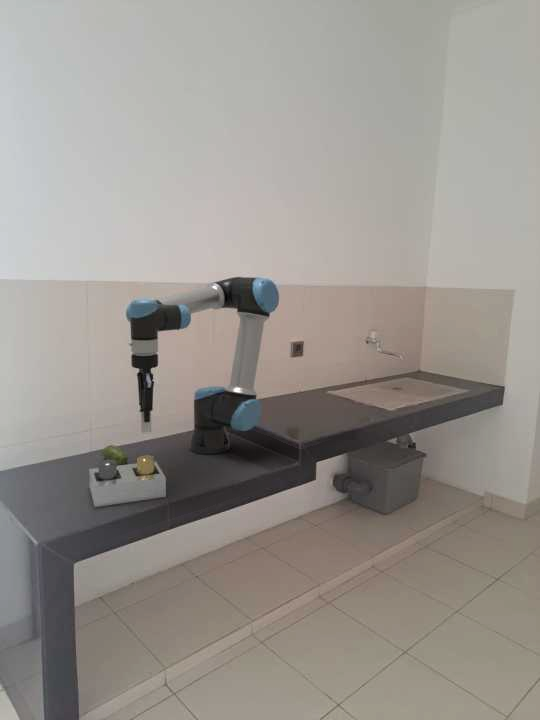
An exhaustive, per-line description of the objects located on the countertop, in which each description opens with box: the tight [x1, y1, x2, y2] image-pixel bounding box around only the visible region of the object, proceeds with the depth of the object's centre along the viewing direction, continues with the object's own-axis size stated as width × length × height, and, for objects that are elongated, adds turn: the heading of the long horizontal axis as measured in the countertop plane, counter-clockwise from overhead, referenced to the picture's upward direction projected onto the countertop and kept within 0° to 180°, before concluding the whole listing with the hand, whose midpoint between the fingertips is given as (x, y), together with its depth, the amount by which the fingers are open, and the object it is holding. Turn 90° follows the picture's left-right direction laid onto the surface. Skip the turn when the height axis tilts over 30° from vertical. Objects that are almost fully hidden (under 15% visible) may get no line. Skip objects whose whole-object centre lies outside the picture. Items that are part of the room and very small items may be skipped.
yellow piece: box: [136, 454, 155, 476], centre depth 158 cm, size 5×5×10 cm
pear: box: [102, 444, 128, 466], centre depth 181 cm, size 6×5×10 cm
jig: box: [88, 459, 167, 508], centre depth 156 cm, size 20×14×10 cm
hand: (146, 431), depth 156 cm, fingers closed
